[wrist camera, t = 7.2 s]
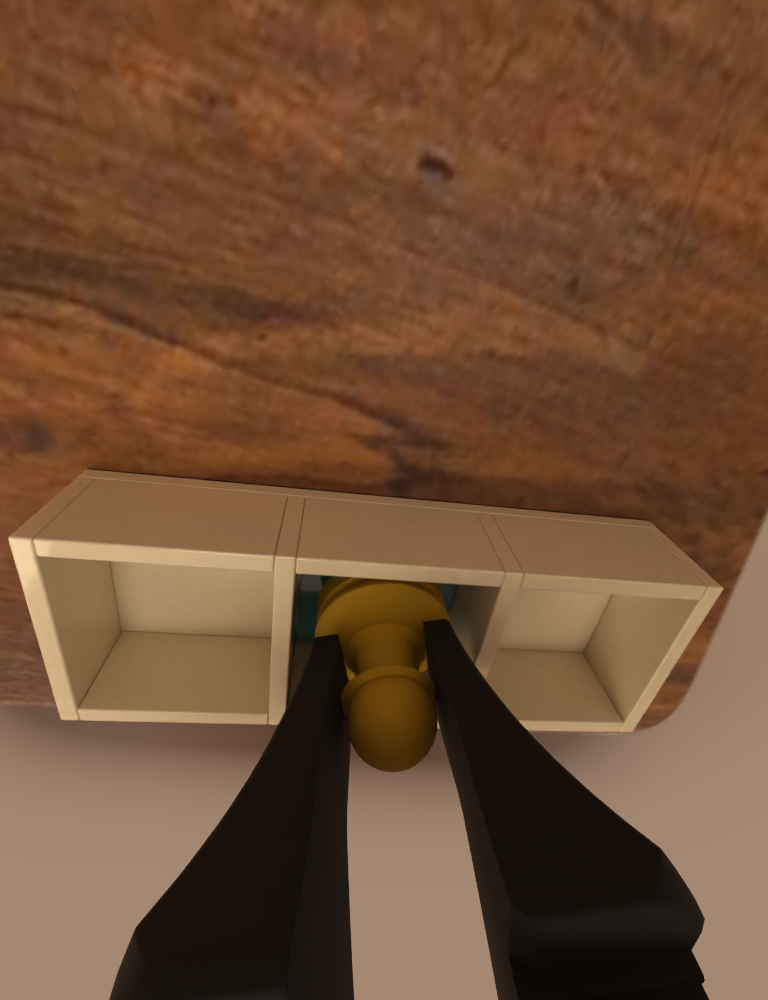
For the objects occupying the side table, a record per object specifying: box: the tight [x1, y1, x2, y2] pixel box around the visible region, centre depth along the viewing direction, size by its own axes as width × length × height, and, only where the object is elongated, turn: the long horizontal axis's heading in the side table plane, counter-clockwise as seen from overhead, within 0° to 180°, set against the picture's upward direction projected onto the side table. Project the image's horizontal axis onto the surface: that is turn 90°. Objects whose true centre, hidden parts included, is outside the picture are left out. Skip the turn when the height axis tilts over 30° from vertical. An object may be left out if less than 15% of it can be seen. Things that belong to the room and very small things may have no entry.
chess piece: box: [315, 576, 451, 772], centre depth 12 cm, size 4×4×5 cm
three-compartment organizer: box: [8, 469, 723, 732], centre depth 14 cm, size 18×6×4 cm, turn 82°
